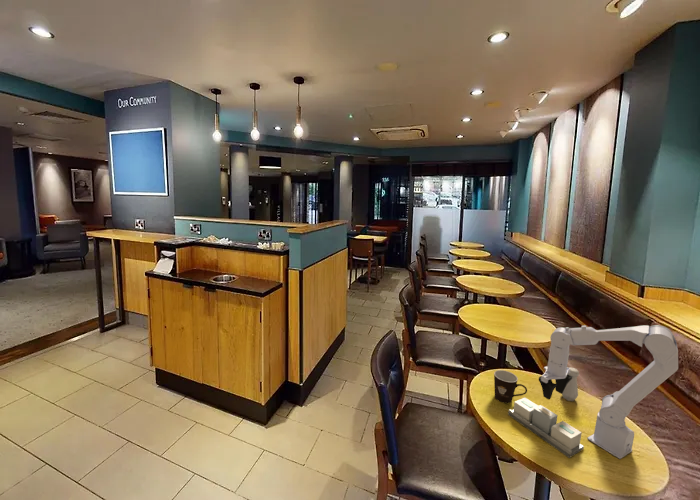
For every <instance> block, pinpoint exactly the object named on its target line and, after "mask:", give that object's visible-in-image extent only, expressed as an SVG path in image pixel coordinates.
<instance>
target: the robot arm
mask: <svg viewBox="0 0 700 500" xmlns="http://www.w3.org/2000/svg"><path fill="white" fill-rule="evenodd" d="M675 337H676V336H675V335H674V334H673V332H672V331H671V330H670V329H669V328H668V327H666V326H663V325H657V324H656V325H651V326H650V325H637V326H627V327H620V328H619V327H617V328H607V329H595V328H594V327H592V326H587V325H581V327H568V326H567V327H556V328H555V329H554V330H553V331H552V333H551V334H550V342H551V343H550V347H549V355H548V362H547V365H546V366H544V367H543V369H544V371H545V372H544V373H543V374H542V375H541V376H538V382H539V383H540V387H541V389H542V395H543V397H544V398H545V399H547V400H548V401H549V400H551V399H552V396H553V392H554V390H555V392H557V393H559V394H560V395H562V393H563V392H564V389H565V387H566V385H567V384H568V383H569V381H570V380H571V379H572V376H570V375H568V374H570V368H569V367H568V362H569V355H570V346H590V345H591V346H592V345H593V346H594V345H597V344H598V343H599V342H600V341H601V342H602V341H603V342H604V341H605V342H606V341H607V342H608V341H610V342H611V341H613V342H614V341H618V342H619V341H624V342H625V341H627V342H629V341H630V342H632V343H633V344H635V345H637V346H638V347H641V348H643V345H644V346H645V347H646V349H647V350H648V351H649V352H650V354H651V356H652V358H653V361H651V362H650V363H649V364H648V365H647V366H646V367H645V368H644V369H643V370H641V371H640V372H639V373H638V374H637V375H636V376H634V377H633V378H632V379H631V380H630V381H629V382H628V383H626V384H625V385H624V386H623V387H622V388H621V389H620V390H617V391H614V392H613V393H611V394H607V395H605V396H603V398H602V399H601V406H600V409H599V411H598V412H597V416H596V420H595V421H596V422H595V426H594V432H593V434H591V435H589V436H588V437H587V440H589V441H590V442H592V443H594V444H595V445H597V446H598V447H600V448H602V449H603V450H605V451H606V452H608V453H609V454H610V455H612V456H614V457H615V458H618V460H621V459H622V458H624V457H626V456H628V455H629V454H630V453H631V452H633V444H634V440H635V431H633V430H632V429H631V428H629V426H627V425H626V418H627V417H628V416H629V415H630V413H631V411H632V409H633V408H634V406H636V405H637V404H638V403H640V402H641V401H642V400H643V399H644V398H645V397H647V396H648V395H649V394H651V393H652V392H653V391H654V390H655V389H657V388H658V387H659V386H660V385H661V384H663V383H664V382H665V381H666V380H667V379H668V378H670V377H671V376H672V375H674V374H675V373H676V372H678V370H679V349H678V343H677V340H676V338H675ZM552 380H555V383H554V382H553V381H552Z"/></svg>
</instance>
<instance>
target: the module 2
mask: <svg viewBox="0 0 700 500" xmlns="http://www.w3.org/2000/svg"><path fill="white" fill-rule="evenodd" d="M582 433H583V432H582V431H580V430H579V429H576V428H575V427H574V426H571V424H569V423H567V422H566V421H564V420H562V421H559V422H558V423H557V422H556V424H555V425H553V426H552V430H551V437H552V438H553V439H555V440H556V441H558V442H559V443H561V444H562V445H564V446H565V447H567V448H568V449H570V450H571V449H573V448H575V447H576V446H578V445H580V444H581V438H582Z"/></svg>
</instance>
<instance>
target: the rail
mask: <svg viewBox="0 0 700 500" xmlns="http://www.w3.org/2000/svg"><path fill="white" fill-rule="evenodd" d="M507 410H508V411H507V416H509V417H510V418H511V419H513V420H515V421H516V422H517V423H519V425H522V426H523V427H524V428H525V429H527V430H528V431H530V432H531V433H533V434H535V436H538V437H539V438H540V439H542V440H543V441H545V443H548V445H550V446H551V447H553V448H554V449H556V450H557V451H559V452H560V453H562V454H563V455H564V456H565V457H567V458H568V459H569V458H572V457H574V456H575V455H576V454H578V453H580V452H581V451H583V450H584V448H585V446H584V445H583V444H581V443H580V445H578V446H576V447H575V448H573V449H571V450H570V449H568V448H567V447H565V446H564V445H562V444H561V443H559V442H558V441H556V440H555V439H553V438H552V437H551V433H550V434H547V433H546V432H544V431H543V430H541V429H540V428H538V427H537V426H535V425H534V424H532V421H531V422H529V421H527V420H526V419H524V418H523V417H521V416H520V415H518V414H517V413H515V412H514V411H513V410H514V409H511V408H509V409H507Z"/></svg>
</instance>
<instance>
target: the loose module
mask: <svg viewBox="0 0 700 500" xmlns="http://www.w3.org/2000/svg"><path fill="white" fill-rule="evenodd" d="M557 422H558V414H556V413H555V412H553V411H551V410H550V409H548V408H547V407H544V405H541V404H540V405H538V406H537V407H535V408H534V409H533V416H532V424H534V425H535V426H537V427H538V428H540V429H541V430H543V431H544V432H546V433H547V434H550V433H551V430H552V426H553V425H555V424H557Z"/></svg>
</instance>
